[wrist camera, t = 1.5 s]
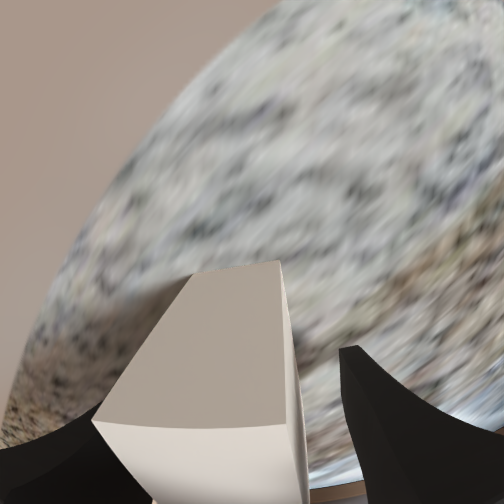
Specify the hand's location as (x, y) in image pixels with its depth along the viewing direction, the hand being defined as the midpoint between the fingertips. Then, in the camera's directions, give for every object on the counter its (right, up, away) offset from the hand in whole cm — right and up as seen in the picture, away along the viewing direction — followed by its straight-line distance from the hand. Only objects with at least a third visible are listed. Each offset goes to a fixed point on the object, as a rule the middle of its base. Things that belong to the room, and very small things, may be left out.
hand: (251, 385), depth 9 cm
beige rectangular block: (0, +1, +2) cm, 2 cm away
